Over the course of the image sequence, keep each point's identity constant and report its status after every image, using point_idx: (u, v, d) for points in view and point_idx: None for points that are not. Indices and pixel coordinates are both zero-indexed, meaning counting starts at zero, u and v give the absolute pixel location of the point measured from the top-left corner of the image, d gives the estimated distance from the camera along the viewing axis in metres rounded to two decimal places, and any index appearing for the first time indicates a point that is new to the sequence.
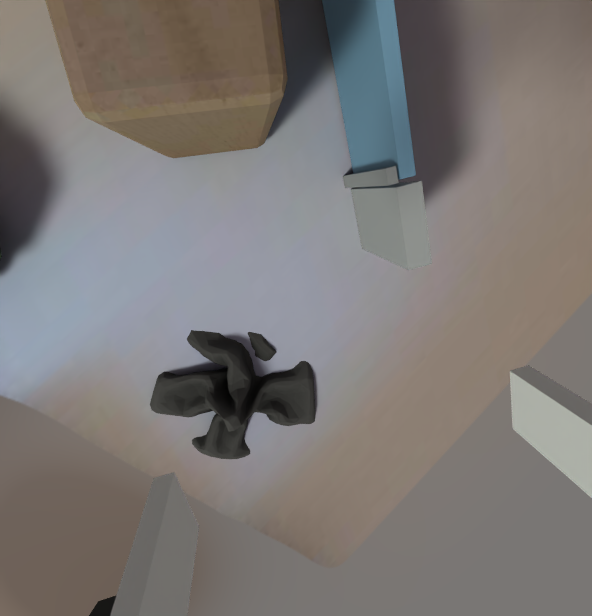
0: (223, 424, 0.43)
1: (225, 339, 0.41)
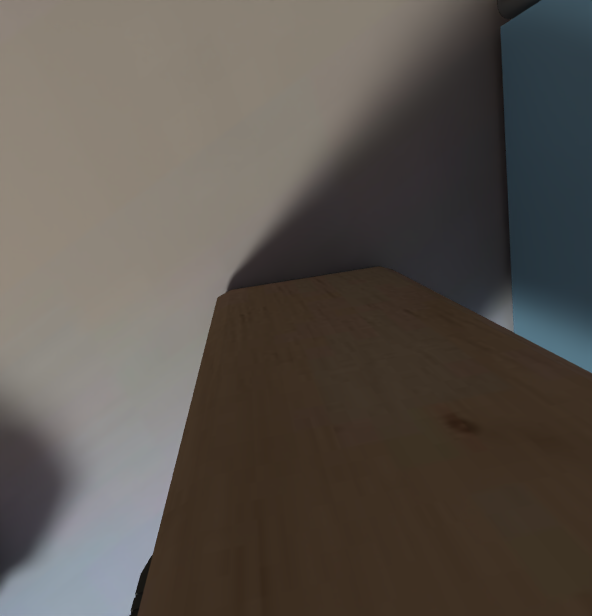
0: None
1: None
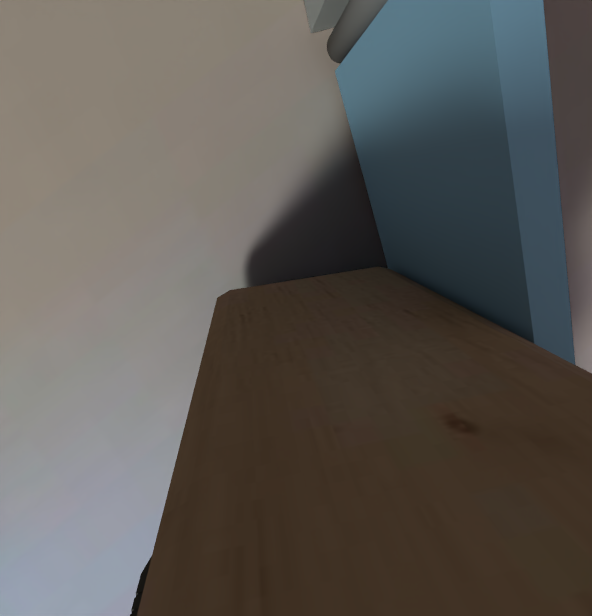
0: None
1: None
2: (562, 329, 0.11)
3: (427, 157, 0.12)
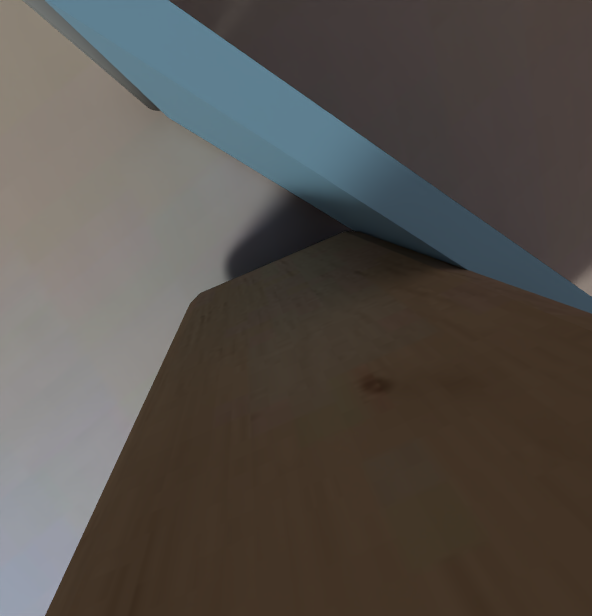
0: None
1: None
2: (478, 233, 0.09)
3: (262, 158, 0.12)
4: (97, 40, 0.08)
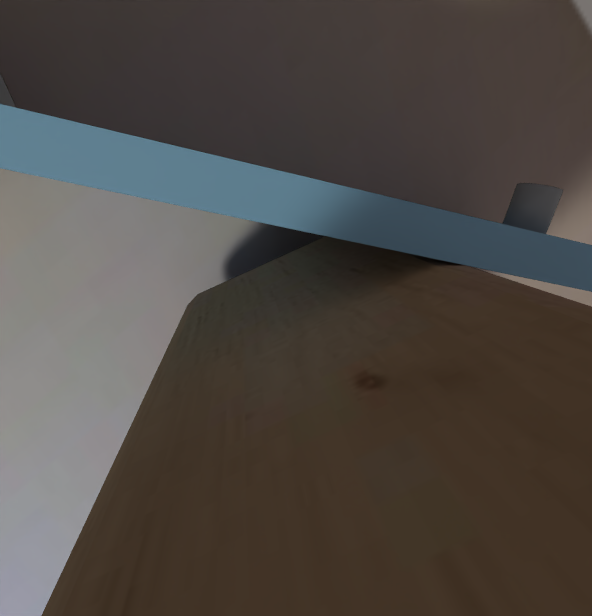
0: None
1: None
2: (231, 174, 0.08)
3: None
4: None
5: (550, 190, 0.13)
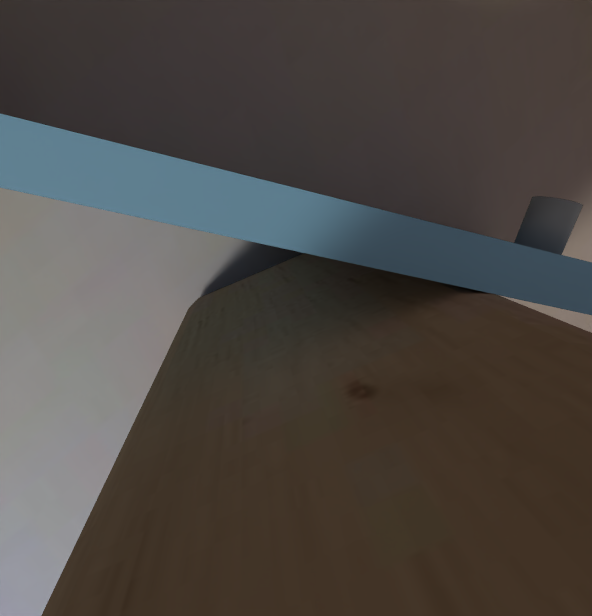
0: None
1: None
2: (220, 186, 0.07)
3: None
4: None
5: (569, 205, 0.12)
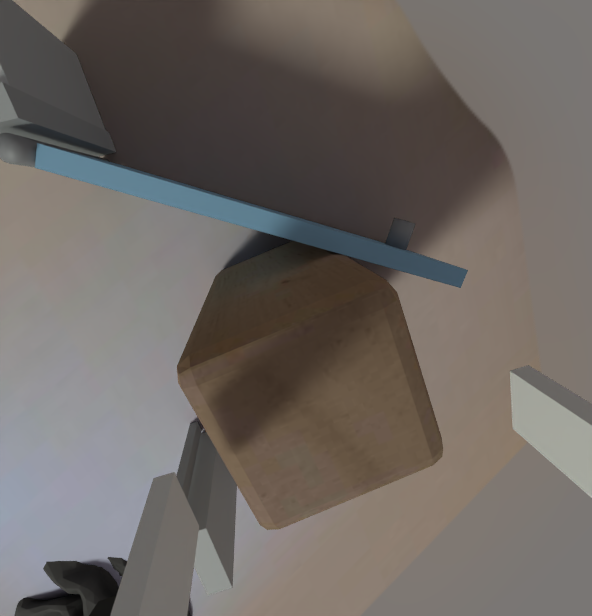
0: None
1: (83, 566, 0.41)
2: (241, 209, 0.20)
3: None
4: None
5: (406, 223, 0.26)
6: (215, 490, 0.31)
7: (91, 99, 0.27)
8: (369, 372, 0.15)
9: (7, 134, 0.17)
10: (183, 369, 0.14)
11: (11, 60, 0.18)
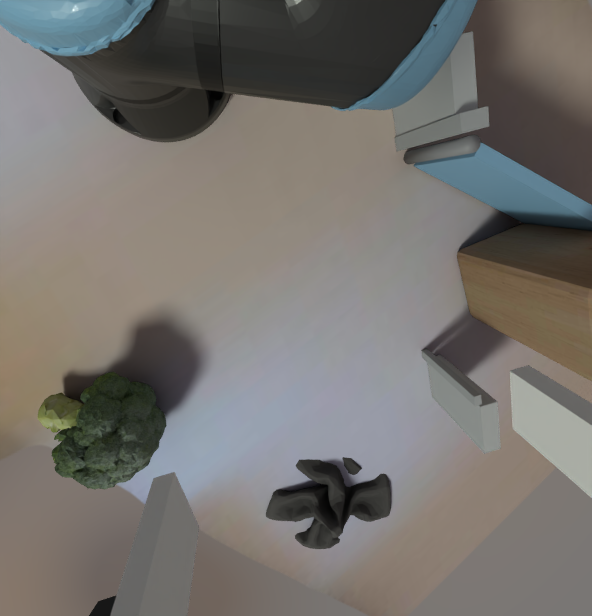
0: (322, 525, 0.55)
1: (324, 463, 0.53)
2: (569, 196, 0.33)
3: (488, 181, 0.35)
4: (472, 160, 0.32)
5: None
6: None
7: None
8: None
9: (475, 135, 0.29)
10: None
11: None
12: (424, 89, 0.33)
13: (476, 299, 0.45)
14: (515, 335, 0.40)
